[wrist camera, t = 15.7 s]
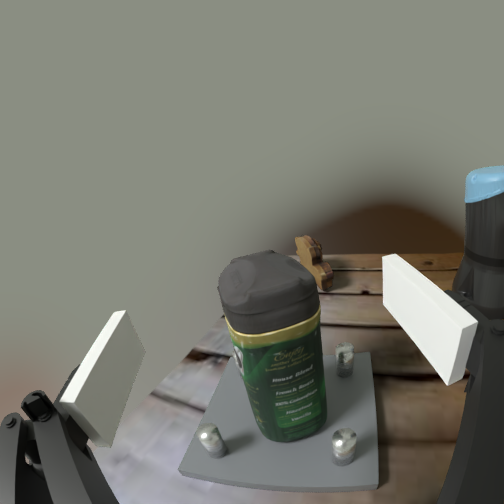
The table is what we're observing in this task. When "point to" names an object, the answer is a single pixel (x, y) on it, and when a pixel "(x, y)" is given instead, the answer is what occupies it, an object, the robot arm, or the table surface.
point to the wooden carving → (314, 261)
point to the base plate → (298, 451)
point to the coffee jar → (277, 342)
